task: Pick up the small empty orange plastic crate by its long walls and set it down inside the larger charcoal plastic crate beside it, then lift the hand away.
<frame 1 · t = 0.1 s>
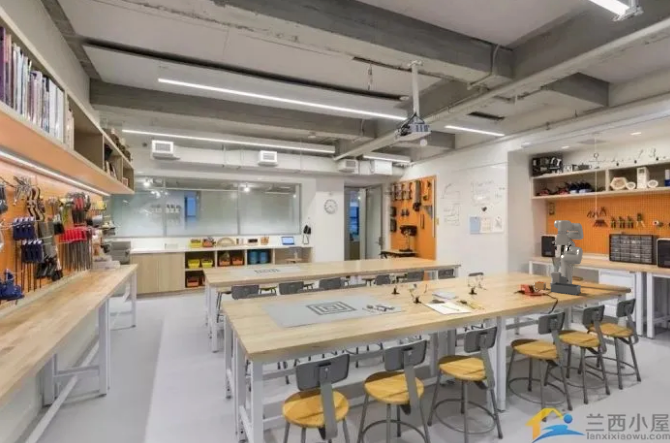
hand: (561, 250, 337), 37 cm above the workbench, tool pointing down, fingers open, 9 cm apart
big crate: (565, 292, 319), on the workbench
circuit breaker: (559, 288, 340), on the workbench
small crate: (540, 288, 335), on the workbench
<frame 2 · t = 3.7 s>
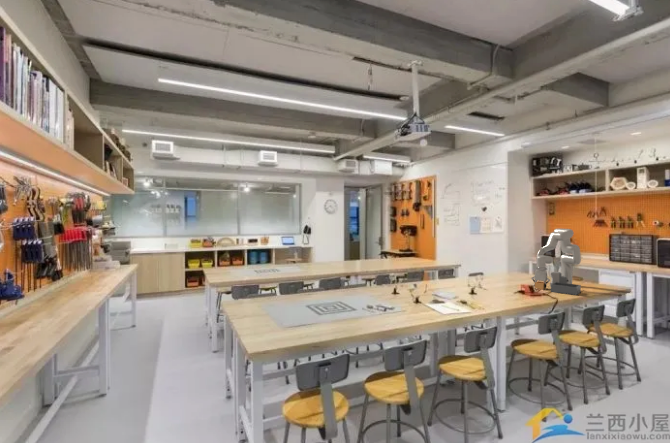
hand: (540, 287, 335), 1 cm above the workbench, tool pointing down, fingers closed on small crate, 7 cm apart
small crate: (540, 288, 335), on the workbench, touching gripper
everything else where it was.
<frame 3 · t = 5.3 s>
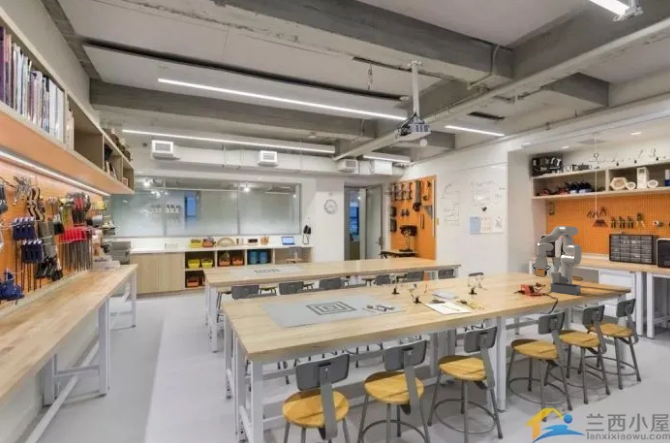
hand: (541, 274, 335), 14 cm above the workbench, tool pointing down, fingers closed on small crate, 7 cm apart
small crate: (541, 275, 335), point 12 cm above the workbench, touching gripper
everything else where it was.
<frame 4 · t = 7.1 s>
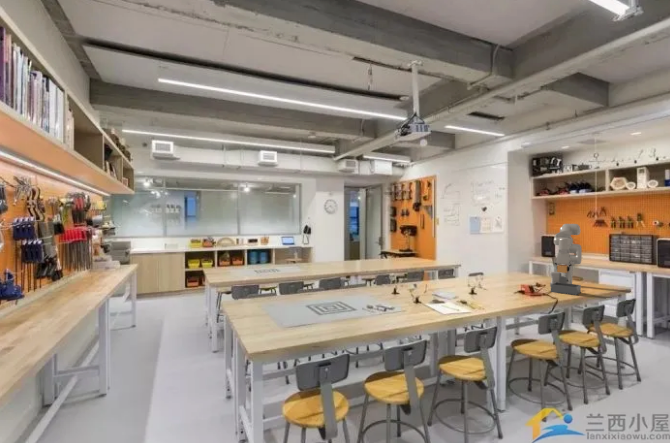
hand: (563, 270, 321), 20 cm above the workbench, tool pointing down, fingers closed on small crate, 7 cm apart
small crate: (562, 272, 321), point 18 cm above the workbench, touching gripper
everything else where it was.
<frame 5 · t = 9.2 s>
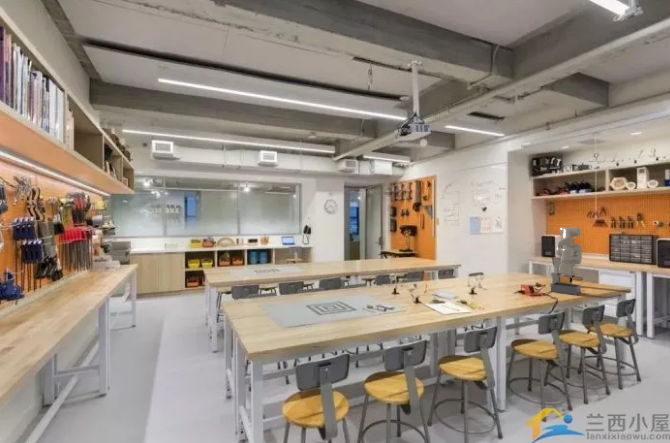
hand: (565, 281, 319), 10 cm above the workbench, tool pointing down, fingers closed on small crate, 7 cm apart
small crate: (565, 282, 319), point 9 cm above the workbench, touching gripper
everything else where it was.
when the fingers open (4 cm above the workbench, at t = 11.0 s): small crate drops 1 cm, resting on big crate.
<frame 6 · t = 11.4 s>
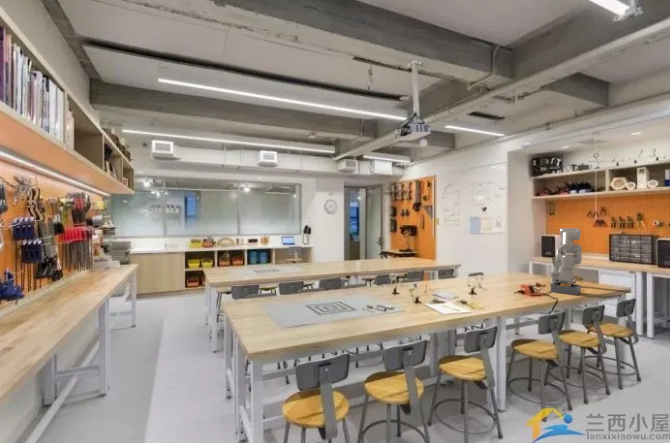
hand: (565, 287, 319), 4 cm above the workbench, tool pointing down, fingers open, 9 cm apart
small crate: (565, 291, 319), point 1 cm above the workbench, touching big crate
everything else where it was.
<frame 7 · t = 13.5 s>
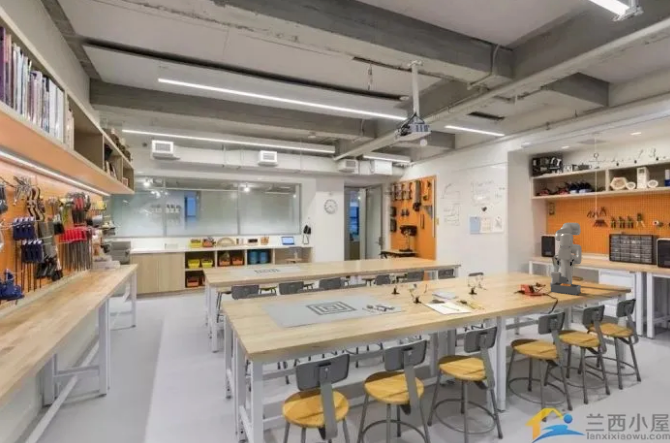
hand: (564, 265, 324), 24 cm above the workbench, tool pointing down, fingers open, 9 cm apart
nothing on the workbench moved.
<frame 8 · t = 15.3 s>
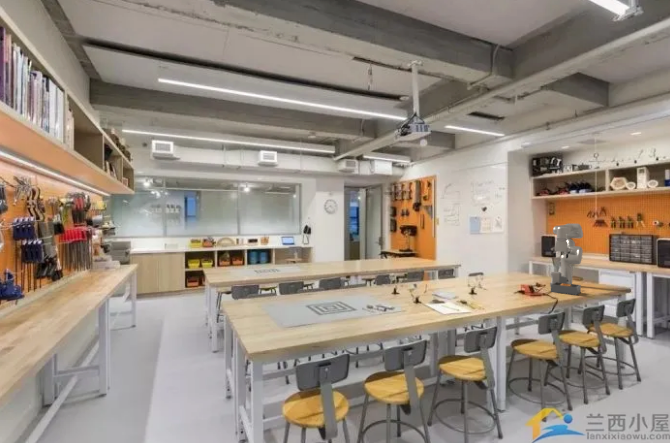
hand: (560, 257, 334), 30 cm above the workbench, tool pointing down, fingers open, 9 cm apart
nothing on the workbench moved.
at the end: small crate 0.1 cm off-centre on the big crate, point 1.0 cm above the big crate's base; small crate tilted 0°; the gripper is holding nothing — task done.
